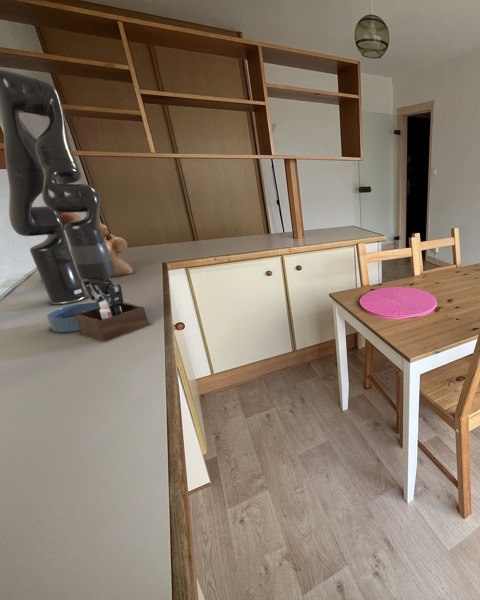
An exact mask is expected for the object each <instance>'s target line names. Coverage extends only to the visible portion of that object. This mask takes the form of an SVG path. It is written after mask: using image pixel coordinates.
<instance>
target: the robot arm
mask: <svg viewBox="0 0 480 600" xmlns="http://www.w3.org/2000/svg"><path fill="white" fill-rule="evenodd" d="M20 113H24V114H28V115H33V116H38V117H43V118H48V124H47V125H46V127H45V129H44V130H43V131H42V132H41V134H40V135H39V136H38V137H37V138H36V137H34V135H33V134H32V133H31V132H30V131H29V129H28V128H27V126H25V124H24V123H23V121H22V120H21V117H20ZM0 119H1V124H2V132H3V144H4V145H3V146H4V159H5V167H6V172H7V173H6V174H7V179H8V187H9V188H8V189H9V200H8V201H9V202H8V203H9V204H8V216H9V217H8V218H9V222H10V225H11V227H12V230H13V231H14V232H15V233H16V234H18V235H19V236H23V237H35V236H36V237H38V236H47V238H45V240H43V241H41V242H40V243H37V244H35V245H33V246H32V247H30V249H29V252H30V255H31V256H32V259H33V262H34V264H35V266H36V269H37V272H38V274H39V276H40V279H41V281H42V284H43V287H44V289H45V291H46V294H47V296H48V299H49V303H50V304H52V305H66V304H67V305H68V304H72V303H77V302H81V301H83V300H85V299H87V297H88V296H87V295H89V299H91V301H94V303H98V306H99V302H101V301H104V300H106V302H107V304H108V305H109V309H110V311H111V314H112V316H115V315H118V314H121V313H122V312H121V309H120V306H119V304H121V303H123V302H124V296H123V289H122V286H121V284H115V283H114V281H113V280H112V277H111V276H112V275H114V274H115V273H116V272H115V269H114V265H113V262H112V259H111V256H110V253H109V250H108V248H107V246H106V244H105V241H104V238H103V235H102V231H101V227H100V223H101V222H100V214H101V213H100V212H101V197H100V194H99V192H98V190H96V189H95V187H93V186H91V185H90V184H86V183H85V184H84V183H76V182H78V181H80V180H81V179H82V172H81V170H80V167H79V164H78V162H77V159H76V156H75V155H74V152H73V149H72V146H71V142H70V136H69V129H68V126H67V121H66V117H65V112H64V108H63V103H62V100H61V97H60V94H59V92H58V91H57V88H56V87H55V86H54V84H52V83H51V82H49V81H47V80H44V79H40V78H37V77H34V76H30V75H26V74H22V73H19V72H15V71H12V70H7V69H3V68H2V69H1V68H0ZM40 195H41V196H42V201H43V203H44V205H45V206H44V205H43V206H33V204H34V201H35V200H36V199H37V198H38V197H39V196H40ZM57 212H58V213H70V212H74V213H86V215H85V217H83V218H84V219H82V220H78V221H74V222H70V223H67V224H65V225H64V228H63V225H62V222H61V219H60V216H59V215H58V213H57ZM64 229H65V230H64ZM69 246H70V247H69ZM81 279H83V281H82V280H81ZM85 289H86V292H87V293H88V294H86V292H85ZM110 300H111V301H110ZM99 309H101V308H100V306H99Z"/></svg>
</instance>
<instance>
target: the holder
mask: <svg viewBox="0 0 480 600" xmlns="http://www.w3.org/2000/svg"><path fill="white" fill-rule="evenodd" d="M119 306H120V307H121V311H122V313H121V314H118V315H115V316H112V317H109V318H106V319H102V317H101V314H100V311H99V310H100V309H99V308H96V309H92V310H89V311H85V312H82V313H78V314H75V317H76V320H77V322H78V325H79V327H80V330H79V331H80V332H81V334H84V335H86V336H89V337H93V338H95V339H99V340H100V341H101V340H102V341H105V342H107V341H109V340H111V339H114V338H118V337H121V336H122V335H125V334H128V333H131V332H133V331H136V330H139V329H141V328H145V327H147V326H149V325H150V323H149V319H148V316H147V313H146V309H145V306H140V305H137V304H133V303H129V302H125V301H123V303H121V304H119Z"/></svg>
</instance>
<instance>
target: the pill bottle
mask: <svg viewBox="0 0 480 600" xmlns="http://www.w3.org/2000/svg"><path fill="white" fill-rule="evenodd" d="M110 301H111V300H110ZM99 306H100V308H101V309H100V310H99V311H100V314H101V317H102V319H106V318H109V317H112V314H111V311H110V309H109V305H108V304H107V302H106V300H104V301H101V302H99ZM120 309H121V307H120ZM121 312H122V311H121Z"/></svg>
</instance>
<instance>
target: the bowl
mask: <svg viewBox="0 0 480 600" xmlns="http://www.w3.org/2000/svg"><path fill="white" fill-rule="evenodd" d="M96 308H99V306H98V303H96V302H84V303H76V304H72V305H67V306H64V307H60V308H58V309H57V308H56V309H55V310H52V311H50V312H49V313H48V314H47V315H46V317H47V321H48V322H49V325H50V327H51V329H52V331H54V332H59V333H67V332H77V331H81V330H80V327H79V325H78V322H77V320H76V317H75V314H78V313H82V312H85V311H89V310H92V309H96Z"/></svg>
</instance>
